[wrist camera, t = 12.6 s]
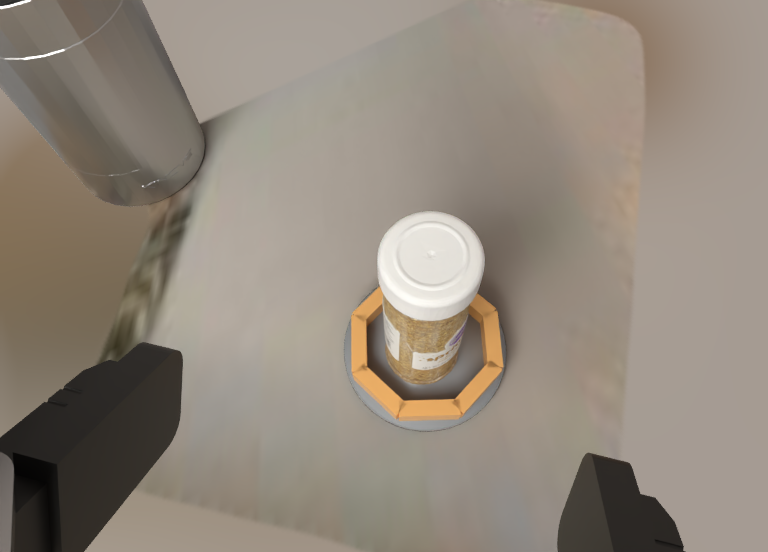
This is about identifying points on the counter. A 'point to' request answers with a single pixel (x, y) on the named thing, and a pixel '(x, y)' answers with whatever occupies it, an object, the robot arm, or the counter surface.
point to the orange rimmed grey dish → (429, 401)
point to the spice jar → (427, 292)
